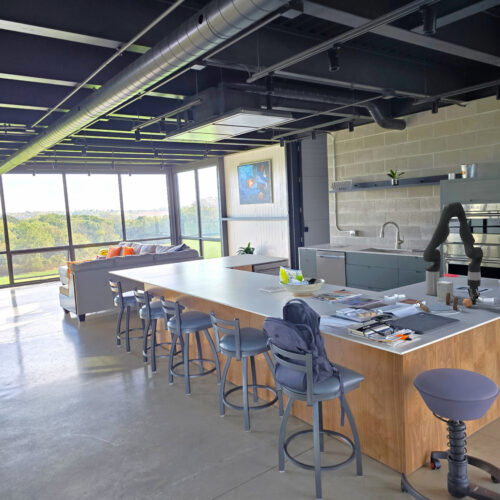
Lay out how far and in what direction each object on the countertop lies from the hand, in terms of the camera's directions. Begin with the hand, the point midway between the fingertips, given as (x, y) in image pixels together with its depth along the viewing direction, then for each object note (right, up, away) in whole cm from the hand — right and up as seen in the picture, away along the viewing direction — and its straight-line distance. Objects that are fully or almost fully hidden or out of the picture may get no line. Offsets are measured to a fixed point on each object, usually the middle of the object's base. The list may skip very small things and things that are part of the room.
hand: (473, 304), depth 279 cm
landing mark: (-23, -2, +2) cm, 23 cm away
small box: (-10, 0, +18) cm, 21 cm away
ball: (-4, +1, -1) cm, 4 cm away
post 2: (-14, -3, -5) cm, 16 cm away
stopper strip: (-32, -3, +3) cm, 32 cm away
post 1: (-13, -1, +7) cm, 15 cm away
